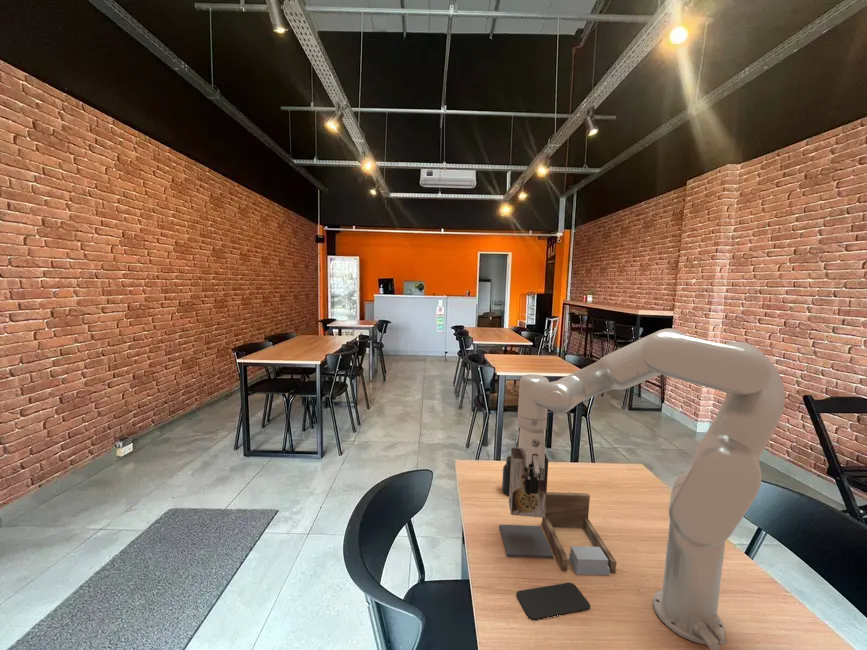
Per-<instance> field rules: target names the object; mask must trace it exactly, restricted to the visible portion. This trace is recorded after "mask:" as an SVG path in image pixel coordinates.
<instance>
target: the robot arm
mask: <svg viewBox="0 0 867 650" xmlns="http://www.w3.org/2000/svg"><path fill="white" fill-rule="evenodd" d="M661 375H663V376H665V377H669V378H672V379H675V380H679V381H682V382H686V383H689V384H693V385H697V386H700V387H704V388H708V389H712V390H716V391H720V392H723V393H725V397H724V400H723V402H722V404H721V406H720V407H719V410H718V412H717V414H716V416H715V418H714V420H713V421H712V423H711V424H710V426H709V428H708V429H707V431H706V432H705V434H704V436H703V437H702V439H701V440H700V441H699V443H698V444H697V446H696V451H695V454H694V455H695V456H694V461H693V463H692V465H691V466H690V469H689V470H688V471H686V472H684V473H682V474H680V475H679V476H678V477H677V478H676V479H675V481H674V482H673V485H672V488H671V492H670V493H671V494H670V500H669V505H668V516H669V524H668V532H667V533H668V535H667V540H666V541H667V542H666V551H665V552H666V553H665V562H664V563H665V564H664V573H663V582H662V583H663V585H662V589H660V590H658V591H656V592H655V593H654V595H653V599H652V607H653V610H654V612H655V613H656V615H657V617H659V619H660V620H661V622H663V624H665V626H667V627H668V628H669V629H670V630H671V631H673V632H674V633H676V634H677V635H679V636H681V637H682V638H684V639H687V640H689V641H691V642H693V643H697V644H700V645H706V646H707V647H708V648H709V649H710V650H720V649H721V645H726V644H727V643H728V640H727V638H726V637H725V635H726V627H725V624H724V622H723V620H722V619H721V617H720V616H719V615H718V609H719V599H720V598H719V597H720V590H721V581H722V572H723V564H724V557H725V549H726V541H727V540H728V539H729V538H730V537H731V536H732V534H733V533H734V531H735V530H736V528H737V526H738V525H739V524H740V523H741V521H742V519H743V517H744V516H745V515H746V513H747V511H748V510H749V508H750V506H751V505H752V504H753V502H754V501H755V499H756V497H757V495H758V493H759V491H760V488H761V485H762V469H761V467H760V460H761V459H760V458H761V455H762V454H763V452H764V450H765V448H766V447H767V445H768V443H769V441H770V440H771V438H772V436H773V433H774V432H775V431H776V429H777V427H778V425H779V423H780V421H781V419H782V416H783V413H784V411H785V410H784V409H785V405H786V394H785V392H786V391H785V387H784V383H783V380H782V377H781V375H780V372H779V371H778V368H777V366H775V365H774V364H773V362H772V360H770V358H768V356H766V354H765V353H764V352H762V350H760V349H759V348H757V347H756V346H755V345H753V344H750V343H748V342H742V341H731V342H727V343H721V342H716V341H710V340H707V339H702V338H697V337H692V336H689V335H687V334H686V333H685V332H683V331H681V330H679V329H677V328H676V329H675V328H671V327H670V328H664V329H659V330H657V331H655V332H653V333H651V334H648V335H646V336H644V337H642V338H640V339H638V340H636V341H634V342H632V343H629V344H626V345H625V346H623V347H621V348H619V349H616V350H615V351H612V352H610V353H608V354H606V355H604V356H602V357H601V358H600V359H598V360H597V361H596V362H594V363H591V364H589V365H587V366H585V367H582V368H581V369H578V370H576V371H574V372H572V373H570V374H567V375H566V376H564V377H561V378H559V379H558V380H554V381H549V379H548V378H547V377H546V376H543V375H542V374H532V373H529V374H528V373H527V374H524V375H522V376H521V377H520V380H519V385H518V387H519V388H518V401H517V402H518V403H517V423H516V427H517V428H519V433H518V447H517V448H519V450H520V452H521V454H522V456H523V458H524V465H525V467H526V468H527V478H526V482H525V492H526V493H528V494H537V493H538V481H539V474H540V470H539V467H540V468H541V469H544V463H545V454H546V452H545V451H546V450H545V449H546V442H545V441H546V439H545V431H546V430H547V424H548V423H547V422H548V410H549V411H552V412H554V413H557V414H565V413H567V412H568V413H569V412H570V411H571V410H572V409H574V408H575V407H576V406H577V405H578V404H580V403H582V402H583V401H585V400H588V399H591V398H593V397H595V396H598V395H600V394H604V393H605V392H606V393H607V392H608V391H609V392H610V391H612V390H618V391H619V390H620V391H622V390H627V389H629V388H632V387H634V386H636V385H639V384H641V383H643V382H647V381H649V380H652V379H654V378H657V377H658V376H661ZM538 463H539V464H538ZM530 464H533V467H529V465H530ZM530 469H533V472H531V474H530ZM720 644H721V645H720Z"/></svg>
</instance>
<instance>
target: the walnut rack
mask: <svg viewBox="0 0 867 650" xmlns="http://www.w3.org/2000/svg"><path fill="white" fill-rule="evenodd" d="M590 497H591V496H590V494H589V493H583V492H578V493H577V492H556V491H555V492H554V491H553V492H552V491H547V494H546V513H545V518H542V517H541V518H542V519H541V525H542V527H543V528H542V529H544V530H543V531H544V532H545V534H546V536H547V537H546V538H548V541H549V543H550V545H551V547H552V550H553V552H554V554H555V555H554V556H556V559H557V561H558V564H559V566H560V568H561V570H562V572H563V571H565V572H567V571H568V570H569V558H568V555H567V554H566V552H565V550H564V548H563V545H562V544H561V542H560V539H559V538H558V535H557V533H556V531H555V530H554V528H575V529H576V528H577V529H583V530H584V531H585V534H587V536H588V538H589V540H590V541H591V543H592V544H593V547H600V548H601V550H602V551H603V553H604V554H605V556H606V557H607V559H608V566H609V568H610V573H611V574H612V573H613V574H615V573H616V569H617V560H616V559H615V557H614V555H613V554H612V553H611V551H610V550H609V548H608V546H607V545H606V544H605V542H604V540H603V539H602V538H601V536H600V534H599V533H598V532H597V530H596V528H595V527H594V525H593V524H592V522H591V521H590V519H589V513H590V501H591V500H590V499H591V498H590ZM610 573H609V574H610Z"/></svg>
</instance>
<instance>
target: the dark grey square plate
mask: <svg viewBox="0 0 867 650" xmlns="http://www.w3.org/2000/svg"><path fill="white" fill-rule="evenodd" d="M498 527H499V532H500V535H501V539H502V543H503V545H504V546H503V548H504V550H505V553H506V554H505V555H506V558H521V559H526V558H527V559H550V560H551V559H553V560H554V556H555V555H554V553H553V551H552V549H551V547H550V545H549V542H548V540H547V537H546V535H545V533H544V532H545V531H544V530H543V528H542V526H541V525H523V524H499V526H498Z"/></svg>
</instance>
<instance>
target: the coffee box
mask: <svg viewBox="0 0 867 650" xmlns="http://www.w3.org/2000/svg"><path fill="white" fill-rule="evenodd" d="M510 452H511V453H510V456H511V468H510V489H509V496H508V506H509V511H510V515H511V516H519V517H530V518H531V517H533V518H545V513H546V494H547V492H548V491H547V489H548V476H549V475H548V472H549V458H548V457H547V454H546V453H545V463H544V469H541V468H540V467H539V470H540V474H539V481H538V493H537V494H528V493H526V492H525V482H526V478H527V468H526V467H525V465H524V458H523V456H522V454H521V452H520V450H519V448H518V447H511V450H510ZM538 464H539V463H538ZM529 467H533V464H530V465H529ZM531 472H533V469H530V474H531Z"/></svg>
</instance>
